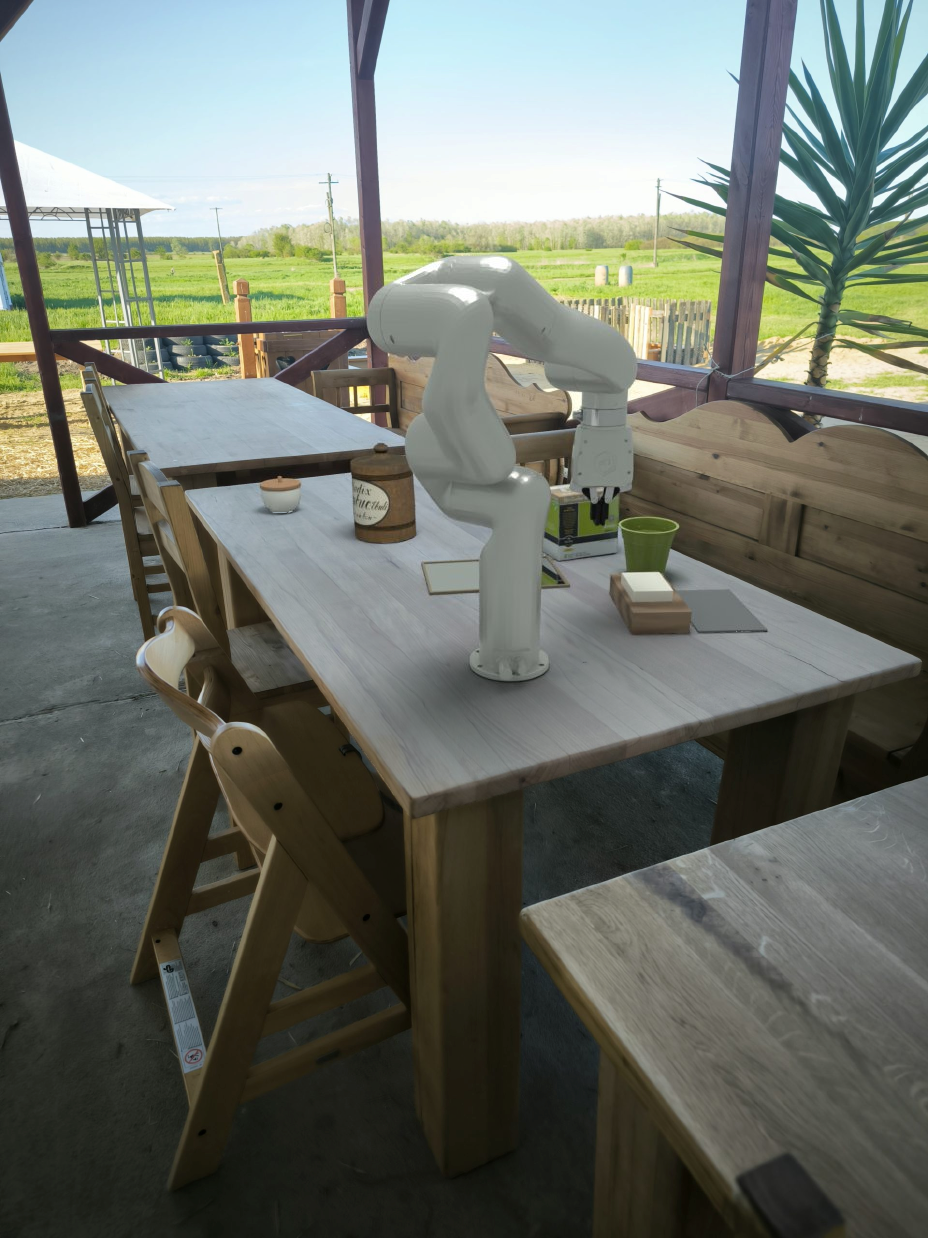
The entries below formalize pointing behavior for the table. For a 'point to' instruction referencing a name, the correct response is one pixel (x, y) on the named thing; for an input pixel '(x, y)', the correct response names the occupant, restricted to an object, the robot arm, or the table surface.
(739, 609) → the mat
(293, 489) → the lidded jar
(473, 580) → the picture frame
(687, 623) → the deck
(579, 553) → the tea box
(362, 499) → the wooden container
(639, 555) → the plant pot
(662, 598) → the cream white slab
